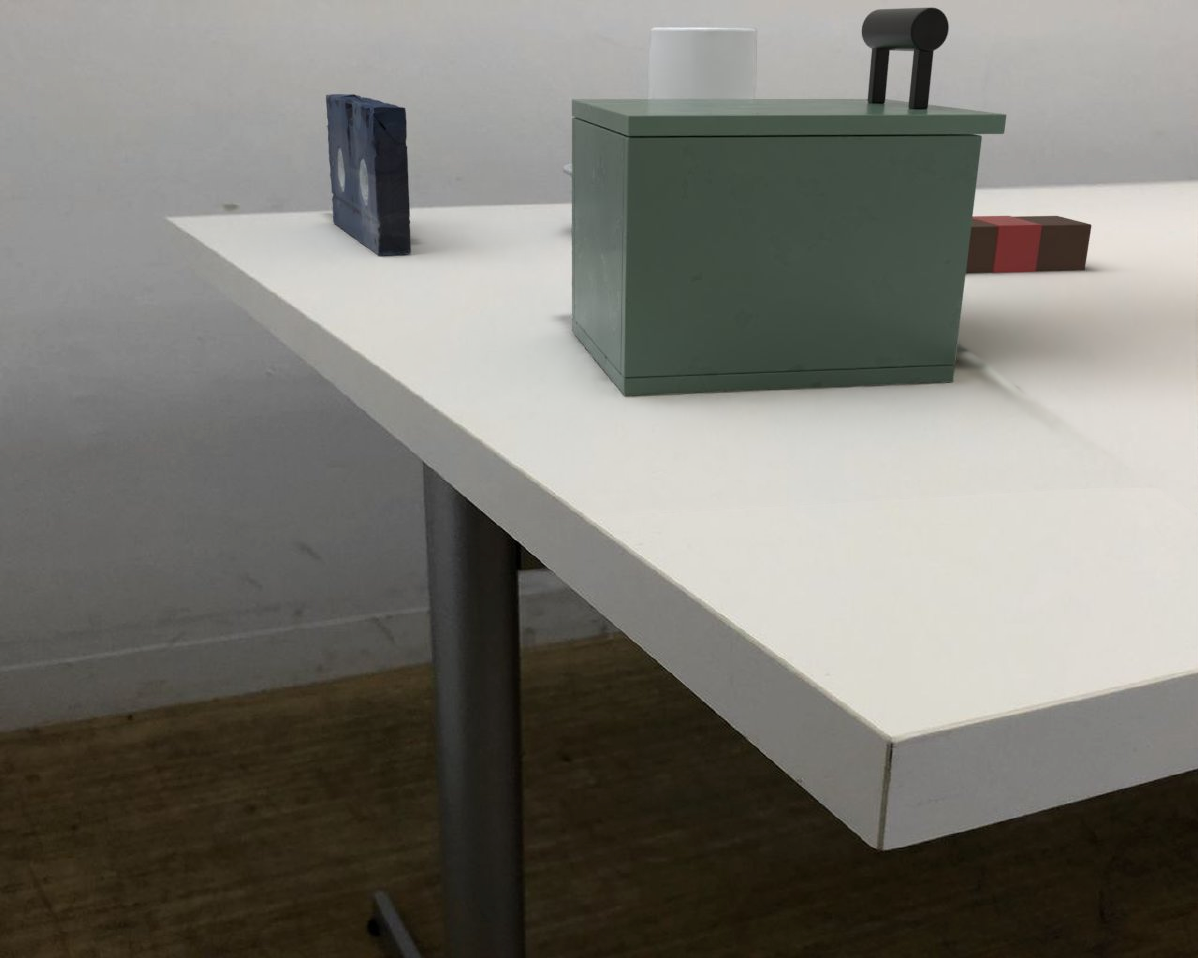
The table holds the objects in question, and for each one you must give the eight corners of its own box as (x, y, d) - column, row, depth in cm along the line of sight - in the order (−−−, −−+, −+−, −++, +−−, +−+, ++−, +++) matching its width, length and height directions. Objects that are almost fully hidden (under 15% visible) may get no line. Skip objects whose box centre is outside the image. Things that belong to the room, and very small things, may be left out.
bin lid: (883, 115, 68) (892, 10, 66) (1004, 134, 56) (1020, 6, 54) (571, 116, 65) (571, 6, 63) (628, 136, 53) (630, 1, 51)
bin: (847, 322, 72) (864, 116, 68) (953, 382, 60) (982, 135, 56) (571, 331, 70) (571, 117, 65) (624, 396, 58) (628, 137, 53)
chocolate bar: (1049, 270, 89) (1057, 214, 88) (1083, 282, 85) (1092, 223, 84) (912, 274, 87) (918, 217, 86) (940, 286, 83) (947, 226, 82)
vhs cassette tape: (413, 254, 93) (406, 106, 89) (372, 256, 92) (363, 106, 88) (368, 221, 109) (360, 93, 105) (332, 222, 108) (323, 94, 104)
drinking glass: (667, 264, 90) (674, 27, 84) (760, 272, 87) (774, 28, 82) (626, 278, 85) (630, 27, 79) (723, 288, 82) (735, 27, 76)
